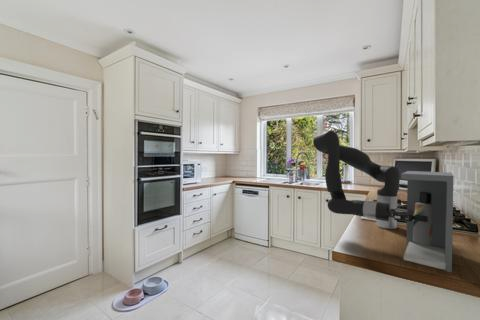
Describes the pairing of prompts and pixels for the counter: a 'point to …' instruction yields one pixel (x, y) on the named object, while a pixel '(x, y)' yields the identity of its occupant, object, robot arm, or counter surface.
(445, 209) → the open shelf
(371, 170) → the robot arm
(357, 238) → the counter surface
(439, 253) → the shelf mat
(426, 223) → the lotion bottle
